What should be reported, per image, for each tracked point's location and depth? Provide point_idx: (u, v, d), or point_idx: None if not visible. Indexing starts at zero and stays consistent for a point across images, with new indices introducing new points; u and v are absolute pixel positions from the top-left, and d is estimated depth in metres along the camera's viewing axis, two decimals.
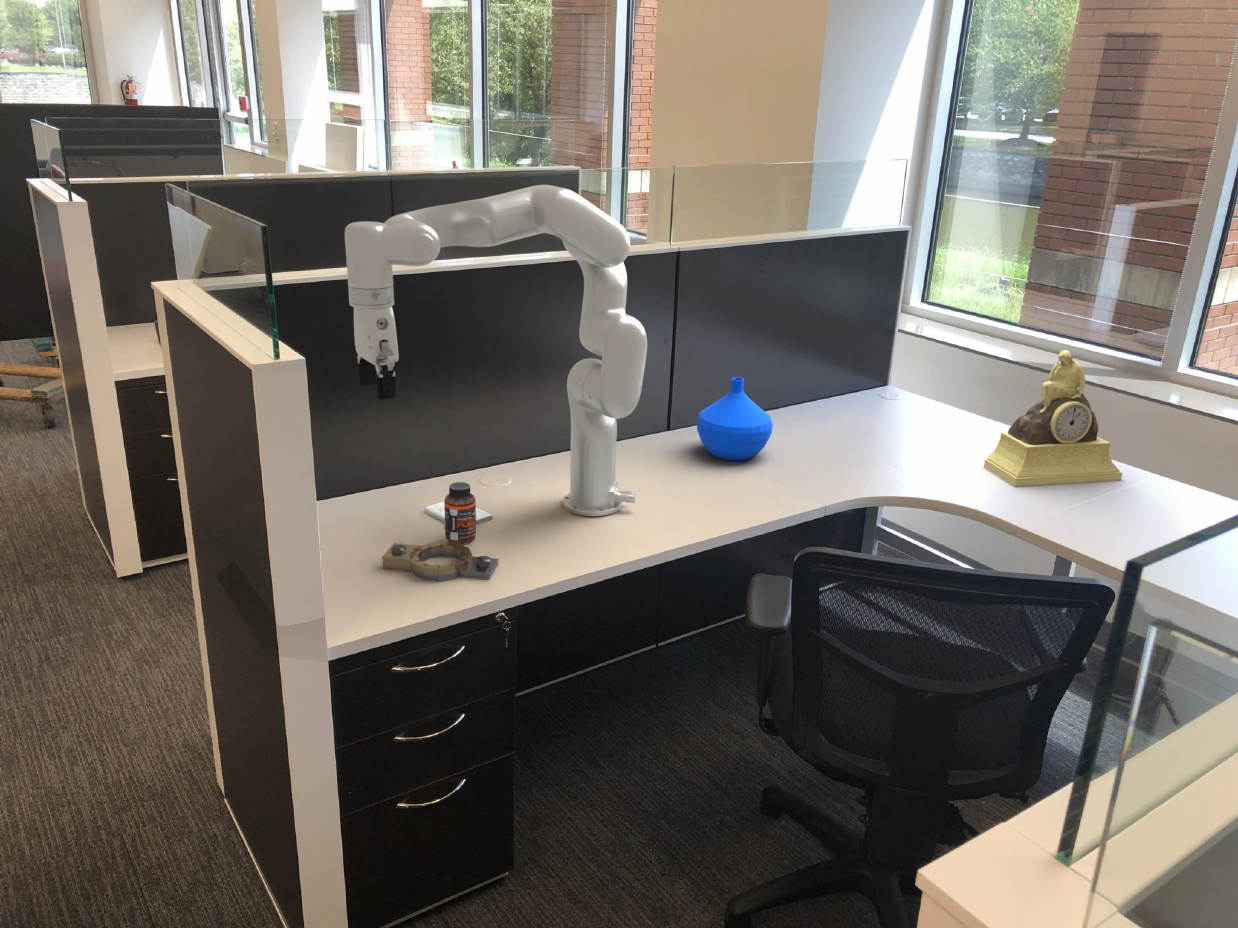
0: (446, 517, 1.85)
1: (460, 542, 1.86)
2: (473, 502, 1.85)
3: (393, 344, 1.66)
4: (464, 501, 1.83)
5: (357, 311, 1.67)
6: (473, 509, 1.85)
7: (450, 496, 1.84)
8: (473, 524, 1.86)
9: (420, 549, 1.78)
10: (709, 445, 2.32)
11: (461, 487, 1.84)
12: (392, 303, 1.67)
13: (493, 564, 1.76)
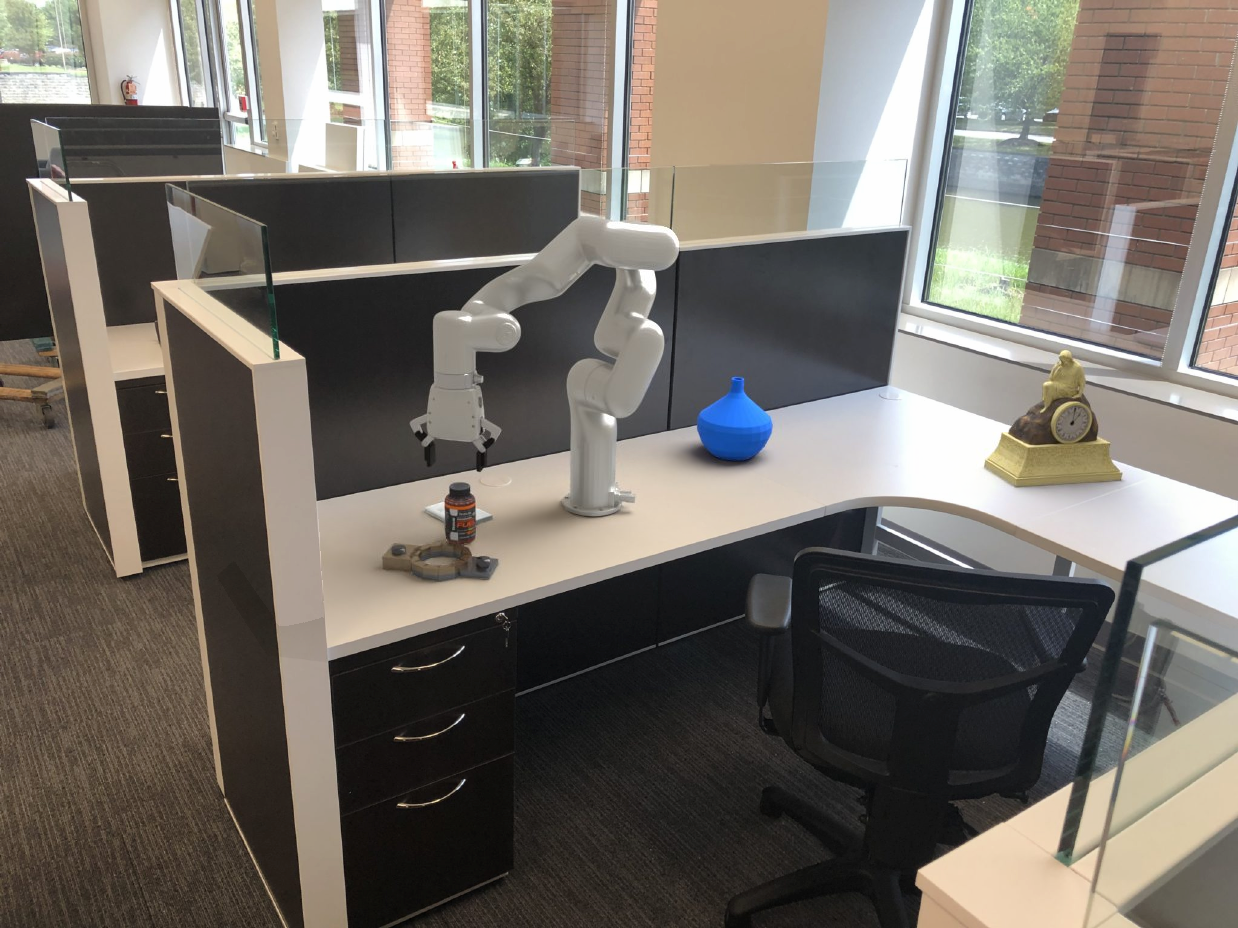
0: (446, 517, 1.85)
1: (460, 542, 1.86)
2: (473, 502, 1.85)
3: (484, 419, 1.81)
4: (464, 501, 1.83)
5: (449, 396, 1.76)
6: (473, 509, 1.85)
7: (450, 496, 1.84)
8: (473, 525, 1.86)
9: (420, 549, 1.78)
10: (709, 445, 2.32)
11: (461, 487, 1.84)
12: None
13: (493, 564, 1.76)
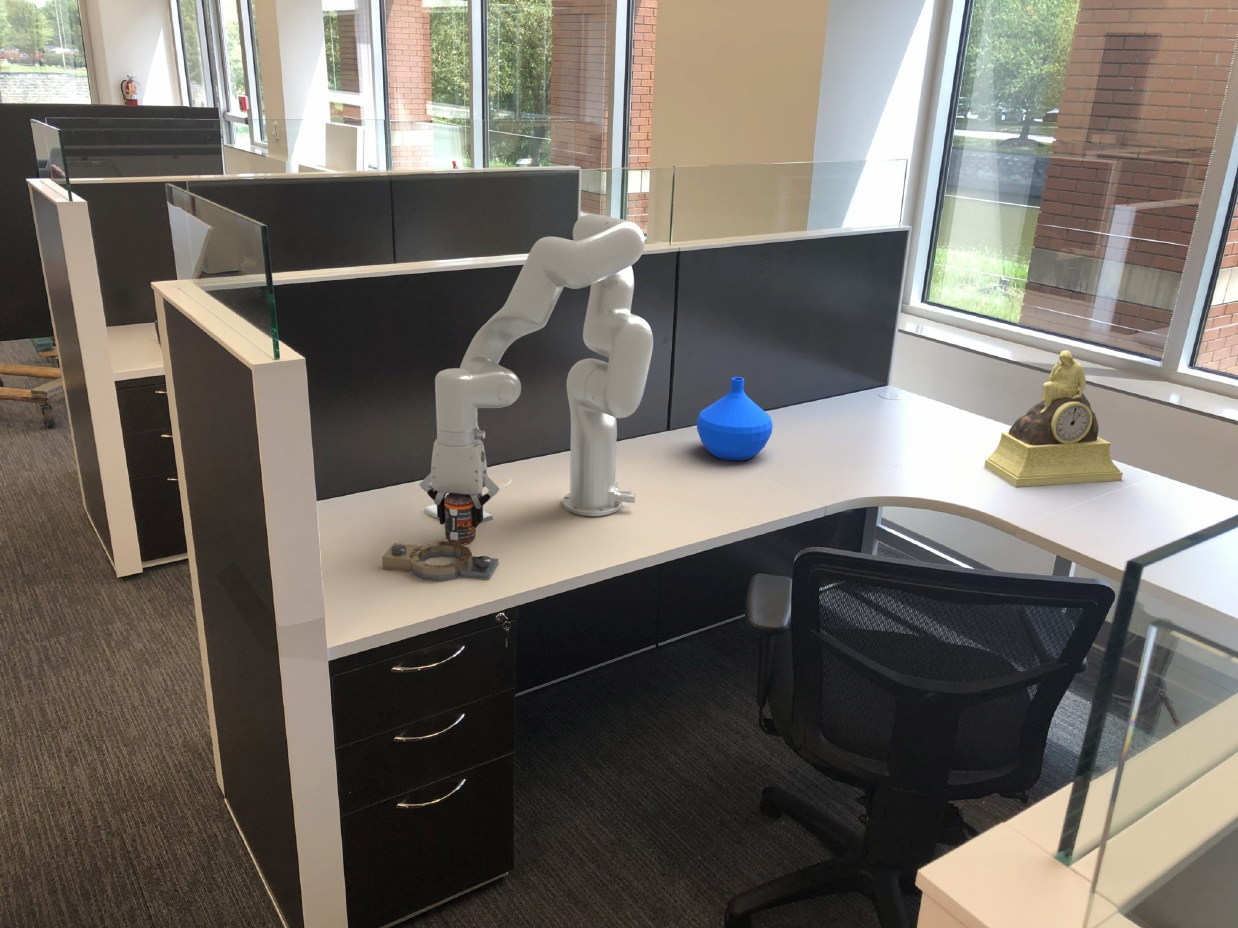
0: (446, 517, 1.85)
1: (460, 542, 1.86)
2: None
3: (486, 471, 1.85)
4: (463, 501, 1.83)
5: (452, 452, 1.80)
6: None
7: (450, 496, 1.84)
8: None
9: (420, 549, 1.78)
10: (709, 445, 2.32)
11: None
12: None
13: (493, 564, 1.76)
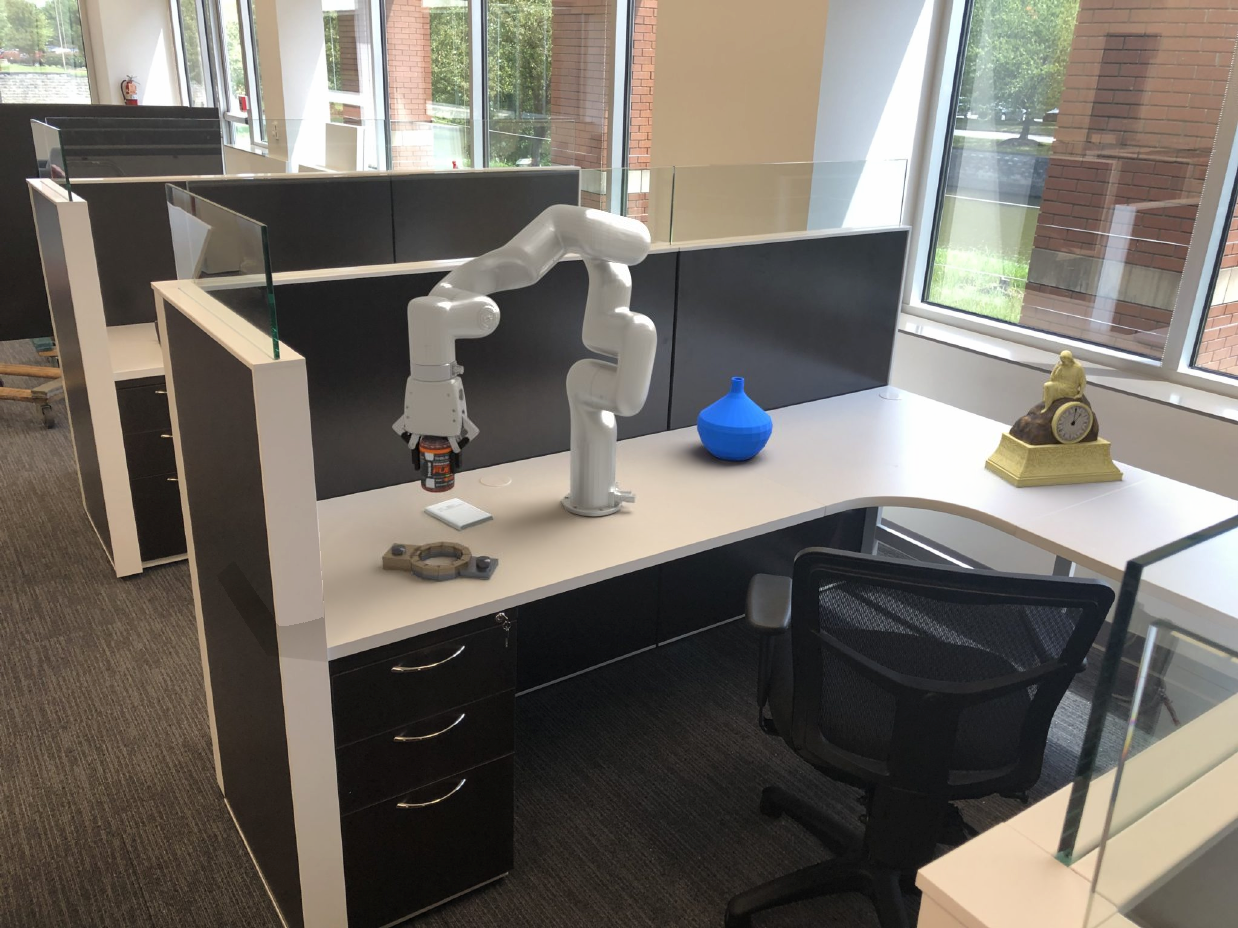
0: (421, 462, 1.69)
1: (437, 490, 1.69)
2: (451, 446, 1.68)
3: (466, 412, 1.68)
4: (440, 444, 1.67)
5: (427, 389, 1.63)
6: None
7: (425, 439, 1.67)
8: None
9: (420, 549, 1.78)
10: (709, 445, 2.32)
11: None
12: None
13: (493, 564, 1.76)
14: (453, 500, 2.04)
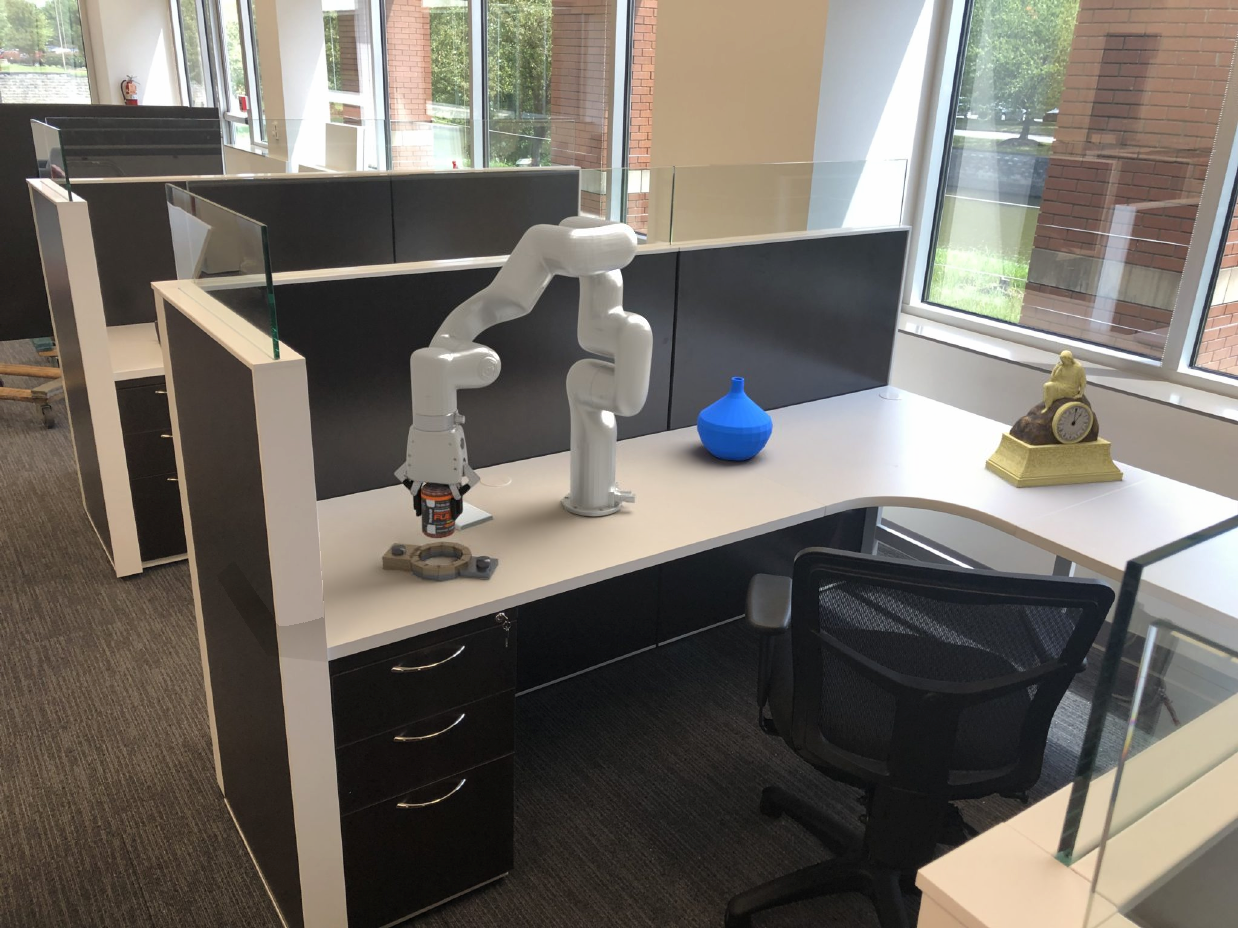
0: (423, 508, 1.71)
1: (438, 536, 1.72)
2: None
3: (467, 460, 1.71)
4: (441, 491, 1.70)
5: (429, 438, 1.66)
6: None
7: (427, 486, 1.70)
8: None
9: (420, 549, 1.78)
10: (709, 445, 2.32)
11: None
12: None
13: (493, 564, 1.76)
14: None
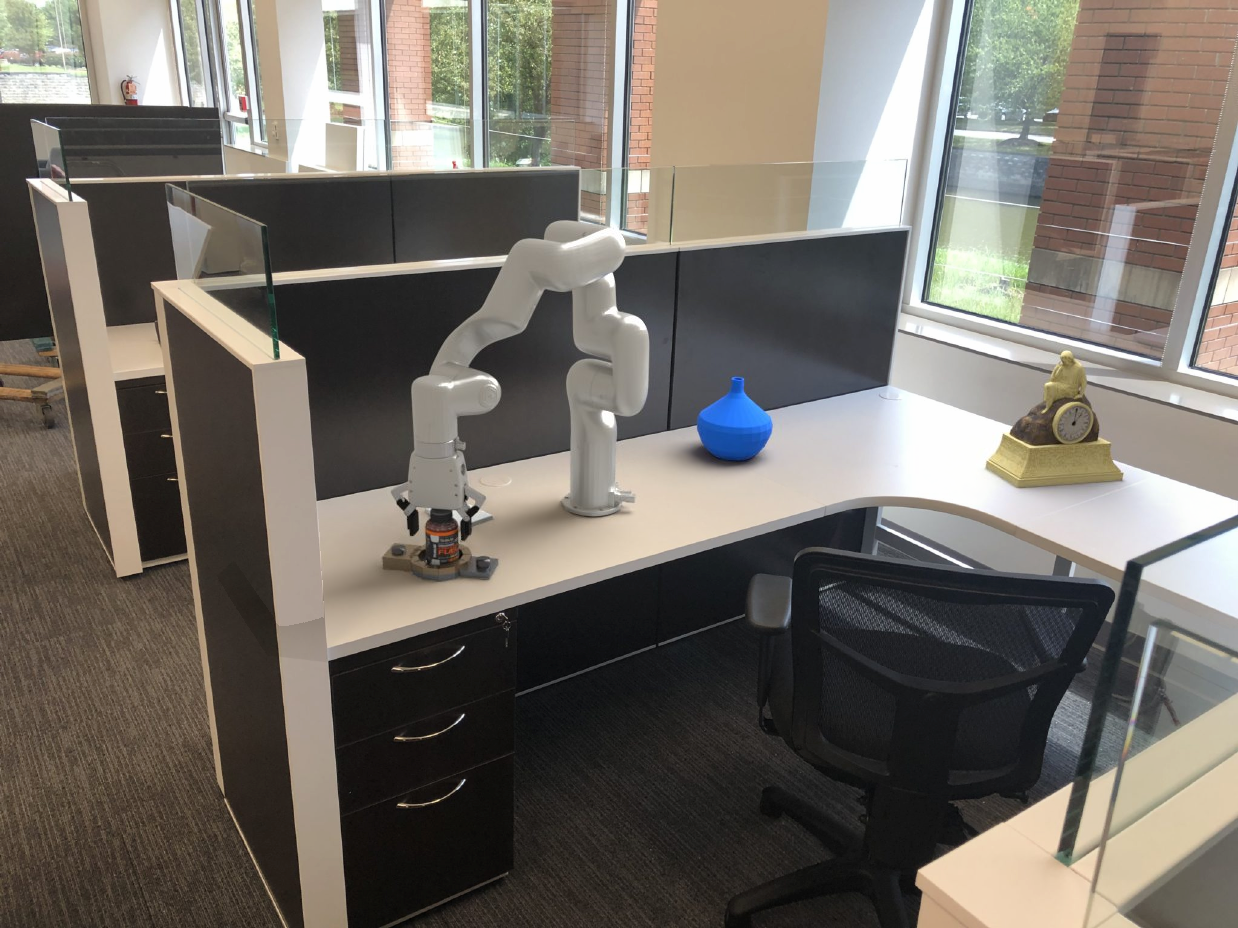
0: (427, 543, 1.74)
1: None
2: (455, 527, 1.74)
3: (467, 485, 1.73)
4: (445, 527, 1.72)
5: (430, 464, 1.68)
6: (455, 535, 1.74)
7: (431, 521, 1.73)
8: (456, 551, 1.75)
9: (420, 549, 1.78)
10: (709, 445, 2.32)
11: (442, 512, 1.73)
12: None
13: (493, 564, 1.76)
14: None
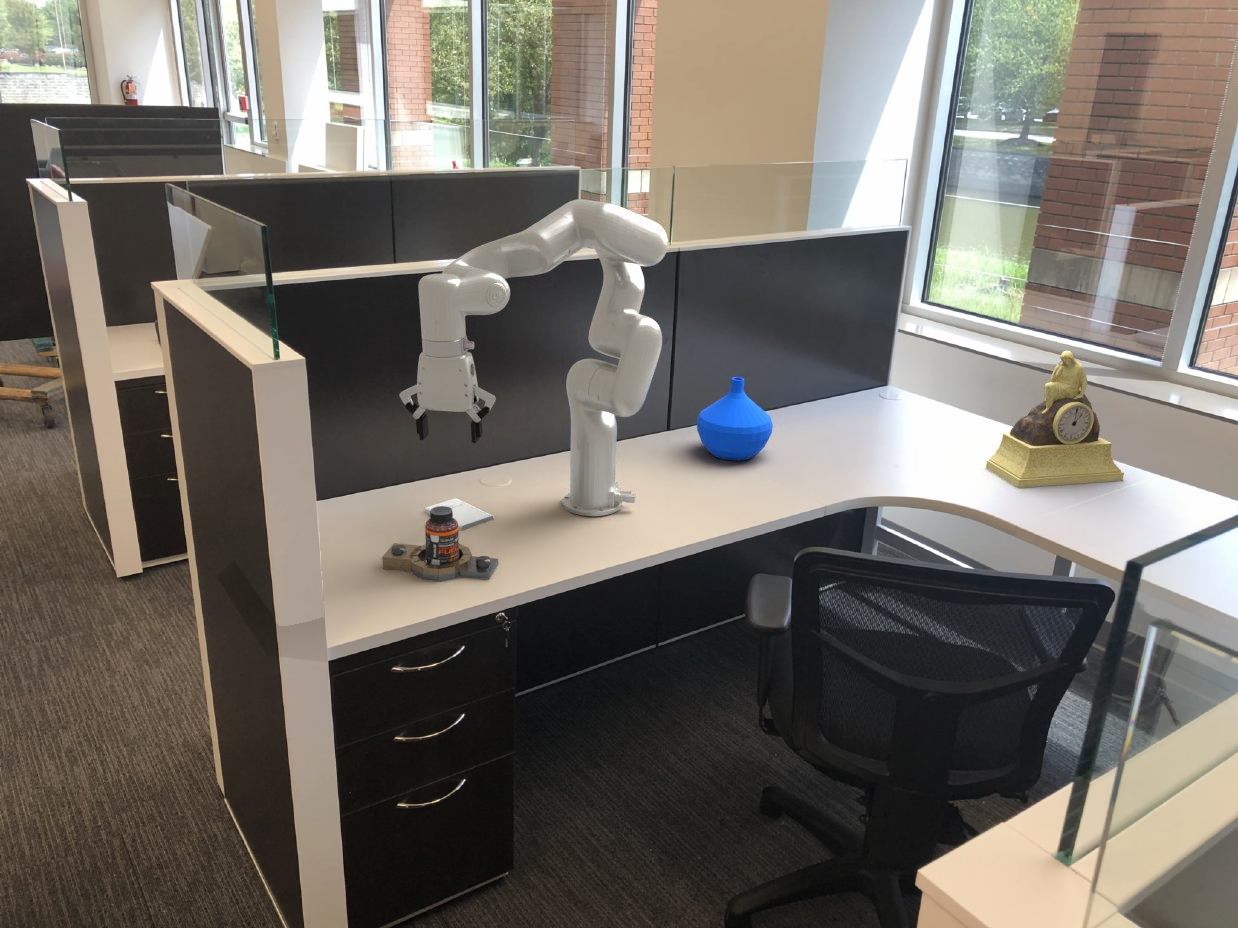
0: (427, 543, 1.74)
1: None
2: (455, 527, 1.74)
3: (477, 387, 1.72)
4: (445, 527, 1.72)
5: (439, 364, 1.67)
6: (455, 535, 1.74)
7: (431, 521, 1.73)
8: (456, 551, 1.75)
9: (420, 549, 1.78)
10: (709, 445, 2.32)
11: (442, 512, 1.73)
12: None
13: (493, 564, 1.76)
14: (453, 500, 2.04)
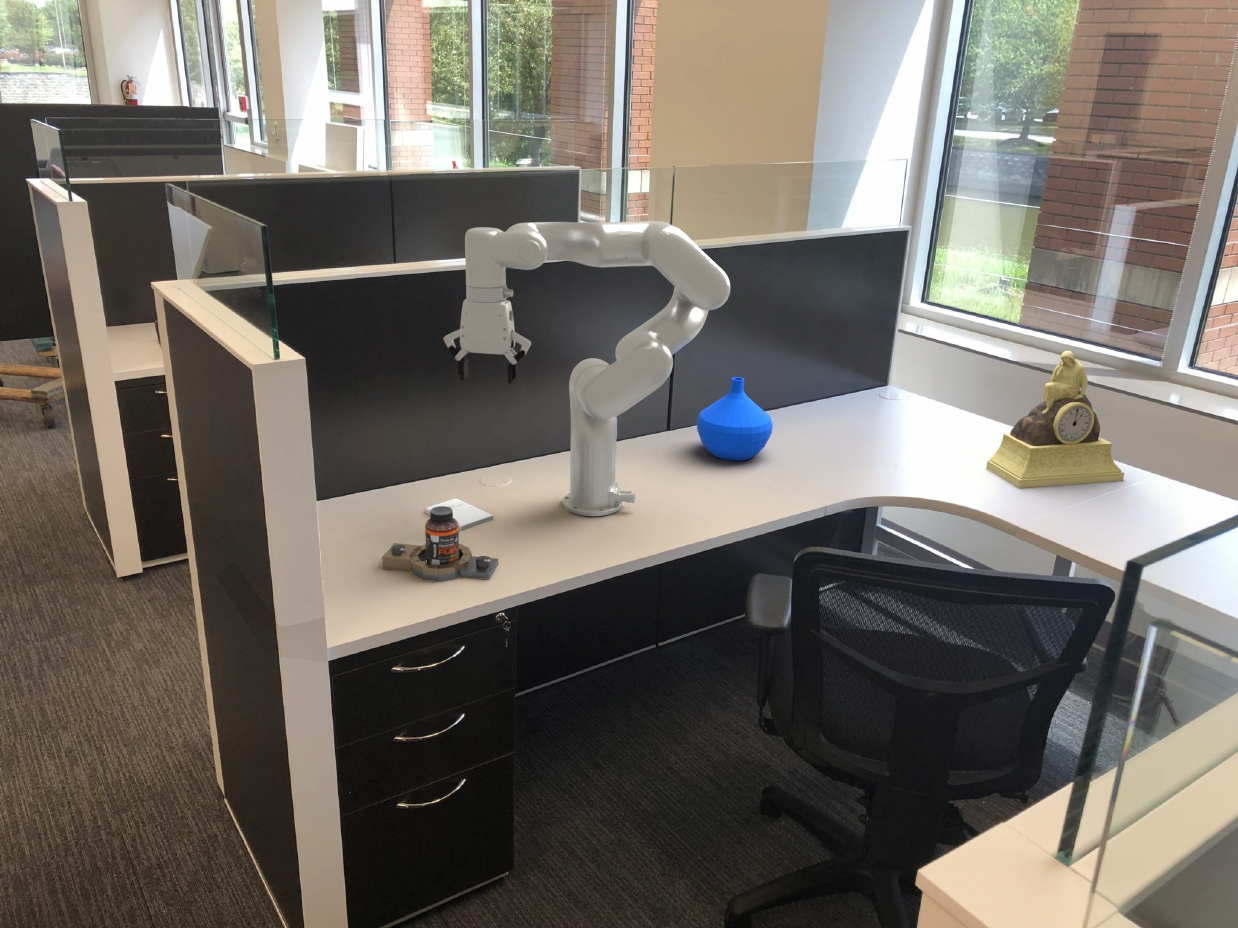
0: (427, 543, 1.74)
1: None
2: (456, 528, 1.74)
3: None
4: (445, 527, 1.72)
5: (481, 309, 1.84)
6: (455, 535, 1.74)
7: (431, 521, 1.73)
8: (456, 551, 1.75)
9: (420, 549, 1.78)
10: (709, 445, 2.32)
11: (443, 512, 1.73)
12: None
13: (493, 564, 1.76)
14: (453, 500, 2.04)
